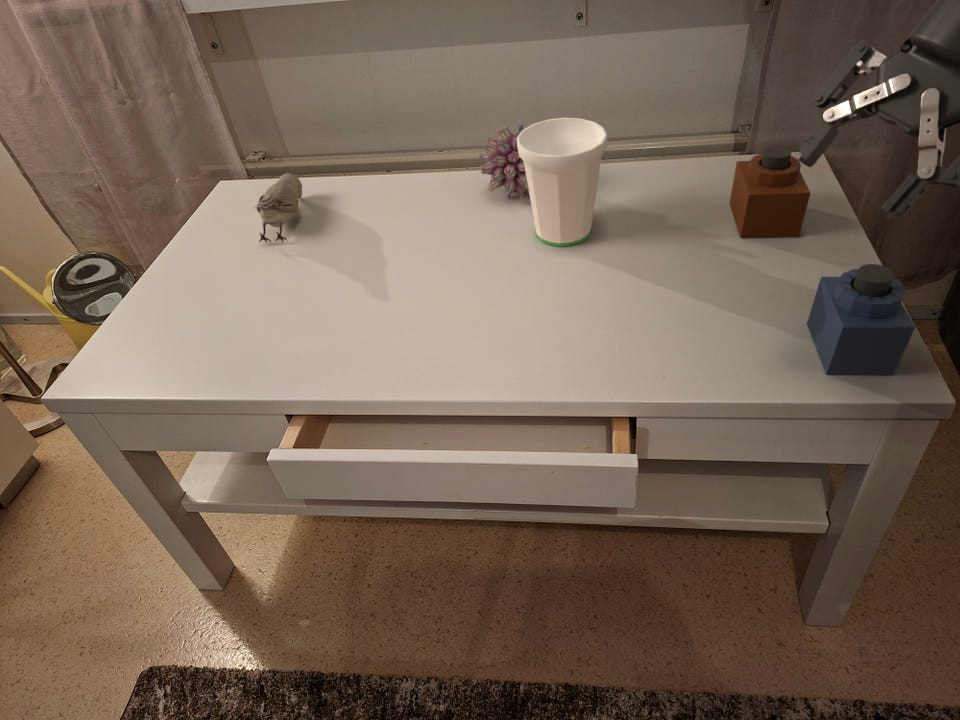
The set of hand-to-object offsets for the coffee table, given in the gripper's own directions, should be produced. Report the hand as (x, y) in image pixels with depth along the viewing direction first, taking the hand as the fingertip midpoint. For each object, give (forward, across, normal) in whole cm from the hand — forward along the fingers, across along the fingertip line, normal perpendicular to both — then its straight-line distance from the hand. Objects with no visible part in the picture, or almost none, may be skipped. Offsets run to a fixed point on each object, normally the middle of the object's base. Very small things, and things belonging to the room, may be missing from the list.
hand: (842, 189), depth 58 cm
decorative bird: (+50, -68, -7) cm, 85 cm away
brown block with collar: (+11, -18, +35) cm, 41 cm away
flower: (+28, -49, +20) cm, 60 cm away
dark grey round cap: (+7, +4, +15) cm, 17 cm away
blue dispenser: (+14, +6, +19) cm, 25 cm away
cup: (+26, -35, +17) cm, 47 cm away
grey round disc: (+4, -20, +30) cm, 36 cm away
